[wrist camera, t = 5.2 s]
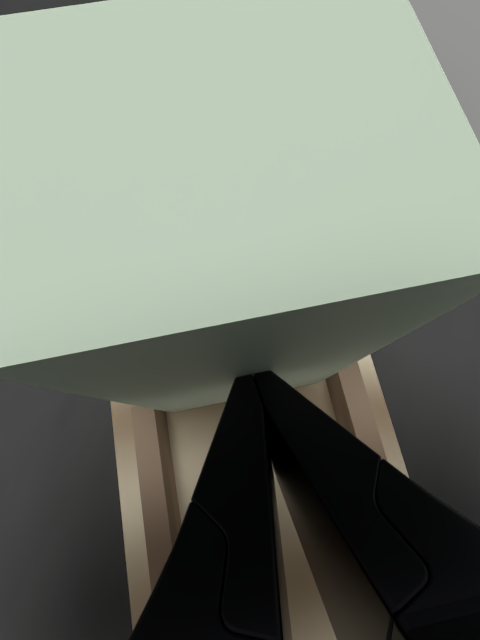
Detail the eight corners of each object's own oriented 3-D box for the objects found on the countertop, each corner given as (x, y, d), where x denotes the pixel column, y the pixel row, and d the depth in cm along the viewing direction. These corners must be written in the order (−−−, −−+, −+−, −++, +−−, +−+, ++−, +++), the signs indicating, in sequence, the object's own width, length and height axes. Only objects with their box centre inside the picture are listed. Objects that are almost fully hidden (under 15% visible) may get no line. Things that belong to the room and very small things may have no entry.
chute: (459, 667, 13) (518, 732, 10) (152, 747, 12) (126, 841, 9) (313, 195, 18) (326, 155, 16) (99, 233, 18) (74, 199, 15)
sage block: (319, 382, 14) (537, 262, 4) (173, 412, 14) (-32, 373, 3) (289, 271, 16) (389, -40, 5) (156, 297, 15) (-26, 19, 5)
